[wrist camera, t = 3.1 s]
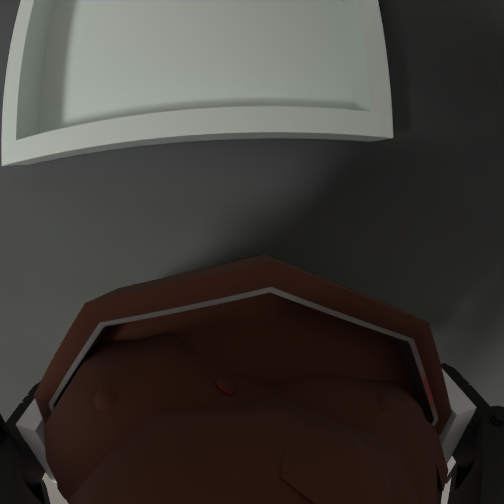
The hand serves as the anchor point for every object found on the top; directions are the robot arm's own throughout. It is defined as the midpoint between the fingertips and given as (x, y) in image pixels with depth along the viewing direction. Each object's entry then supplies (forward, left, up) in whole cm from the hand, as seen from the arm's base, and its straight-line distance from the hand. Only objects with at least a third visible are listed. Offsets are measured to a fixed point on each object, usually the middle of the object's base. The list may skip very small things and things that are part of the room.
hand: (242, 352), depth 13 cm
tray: (-2, +17, -3) cm, 17 cm away
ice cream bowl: (0, 0, -3) cm, 3 cm away
